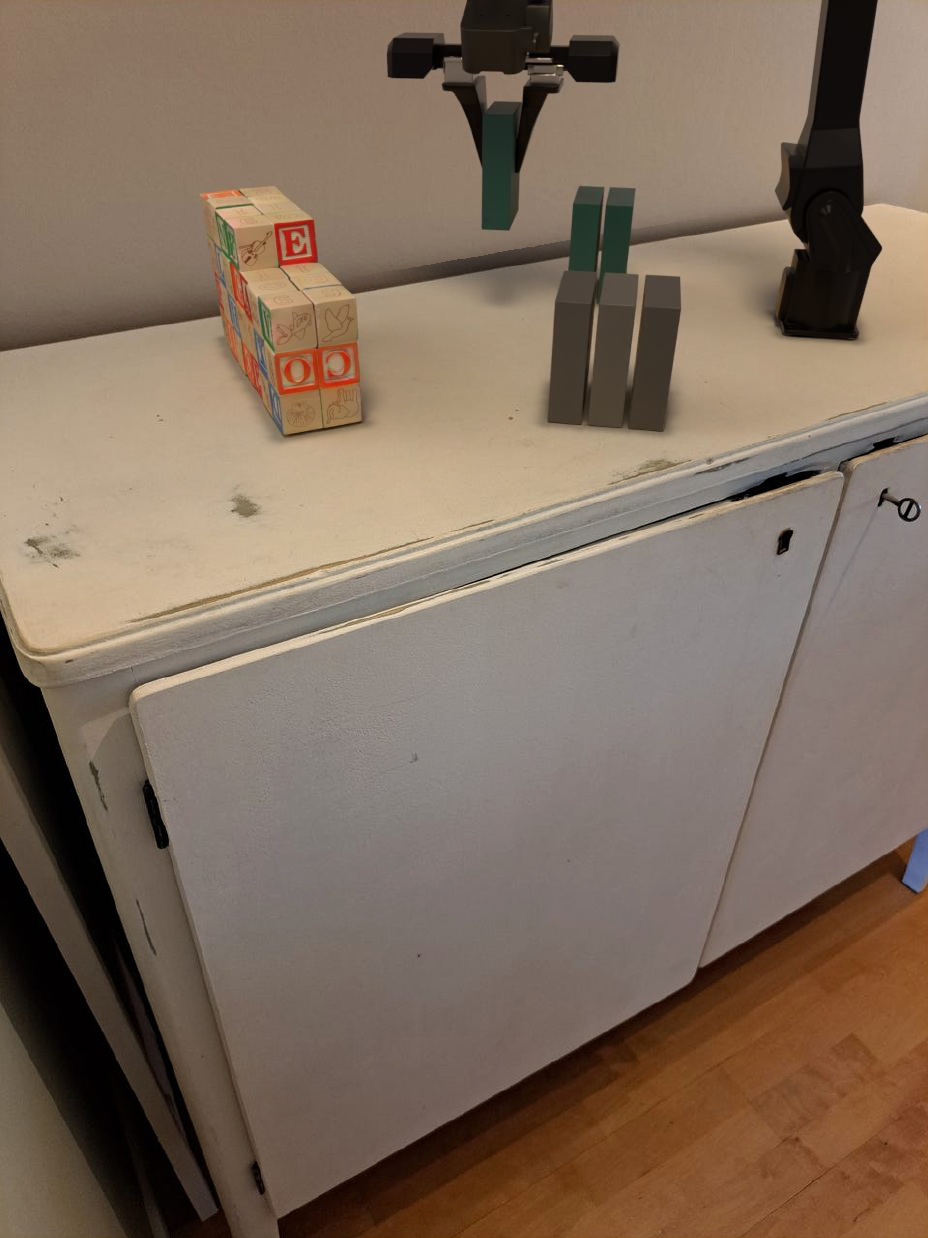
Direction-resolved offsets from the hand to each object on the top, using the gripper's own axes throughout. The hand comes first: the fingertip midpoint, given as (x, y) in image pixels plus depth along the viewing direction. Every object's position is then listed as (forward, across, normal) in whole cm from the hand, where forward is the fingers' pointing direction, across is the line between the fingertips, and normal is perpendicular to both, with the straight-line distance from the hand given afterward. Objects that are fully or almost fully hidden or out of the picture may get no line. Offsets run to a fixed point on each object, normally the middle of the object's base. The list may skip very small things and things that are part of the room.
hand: (501, 171), depth 80 cm
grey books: (+12, +11, -21) cm, 27 cm away
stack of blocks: (+12, -15, -20) cm, 27 cm away
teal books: (+12, +9, +6) cm, 16 cm away
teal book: (+4, 0, 0) cm, 4 cm away
